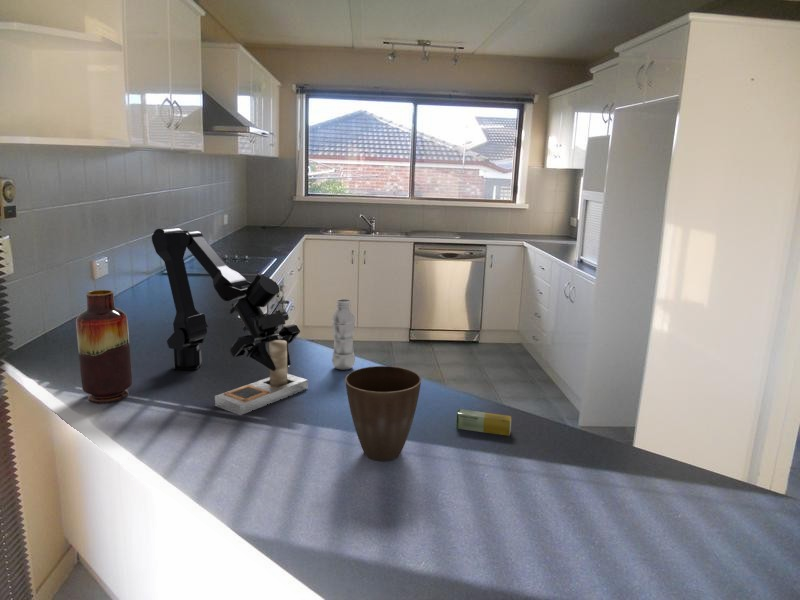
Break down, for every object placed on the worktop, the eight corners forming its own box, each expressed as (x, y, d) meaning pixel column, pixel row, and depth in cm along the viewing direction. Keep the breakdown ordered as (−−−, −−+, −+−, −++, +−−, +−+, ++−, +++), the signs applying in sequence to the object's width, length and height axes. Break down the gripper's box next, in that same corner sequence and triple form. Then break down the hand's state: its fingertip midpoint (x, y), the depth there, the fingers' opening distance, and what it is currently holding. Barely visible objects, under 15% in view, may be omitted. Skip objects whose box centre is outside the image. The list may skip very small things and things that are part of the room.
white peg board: (240, 415, 138) (239, 404, 137) (215, 405, 143) (214, 395, 142) (307, 388, 155) (307, 379, 155) (283, 381, 160) (283, 371, 160)
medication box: (455, 429, 134) (456, 412, 133) (457, 424, 136) (458, 408, 135) (509, 437, 130) (510, 420, 130) (511, 431, 133) (512, 415, 132)
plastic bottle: (359, 366, 173) (359, 299, 169) (347, 373, 167) (347, 304, 163) (339, 363, 176) (339, 297, 172) (327, 370, 170) (327, 301, 166)
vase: (83, 408, 140) (72, 298, 134) (83, 392, 149) (73, 289, 144) (134, 400, 145) (126, 295, 139) (131, 386, 154) (123, 286, 149)
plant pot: (392, 479, 111) (394, 397, 108) (329, 457, 119) (329, 381, 115) (432, 448, 123) (434, 375, 120) (372, 431, 131) (373, 361, 128)
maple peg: (269, 394, 151) (268, 345, 148) (270, 388, 155) (269, 340, 152) (287, 394, 151) (286, 344, 148) (288, 388, 155) (287, 339, 153)
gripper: (235, 305, 143) (266, 359, 139) (295, 294, 158) (324, 343, 153) (217, 331, 150) (246, 383, 145) (276, 318, 164) (304, 365, 160)
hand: (282, 367), depth 151 cm, fingers closed on maple peg, 4 cm apart
